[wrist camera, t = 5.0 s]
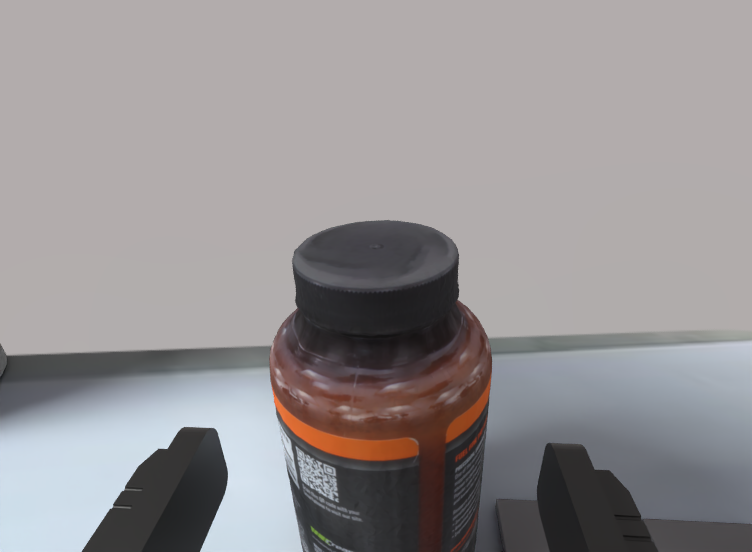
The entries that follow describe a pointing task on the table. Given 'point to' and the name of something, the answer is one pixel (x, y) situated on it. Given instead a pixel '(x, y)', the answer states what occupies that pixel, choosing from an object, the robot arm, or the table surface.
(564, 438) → the table surface
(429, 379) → the supplement bottle
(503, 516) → the track
